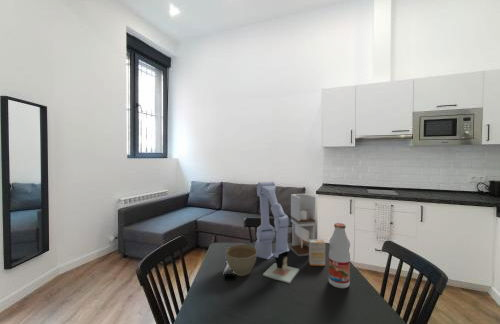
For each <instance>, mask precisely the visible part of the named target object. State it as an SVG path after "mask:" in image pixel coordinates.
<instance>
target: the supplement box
mask: <svg viewBox="0 0 500 324" xmlns="http://www.w3.org/2000/svg"><path fill="white" fill-rule="evenodd" d="M308 262H309V266H315V267H317V266H319V267H325V266H326V241H325V240H324V239H320V238H319V239H309V255H308Z"/></svg>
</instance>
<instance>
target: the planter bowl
mask: <svg viewBox="0 0 500 324" xmlns="http://www.w3.org/2000/svg"><path fill="white" fill-rule="evenodd" d="M256 256H257V250H256V248H255V246H251V245H248V244H236V245H232V246H229V247H228V248H226V250H225V257H226V263H227V264H228V267H229V268H230V270H231V269H232V270H233V271H234V272H235V273H236V274H237V275H236V276H239V277H243V276H247V275H249V274H250V273H251V271H252V269H253V268H254V266H255V264H256V262H257V261H256V260H257V257H256ZM232 270H231V271H232Z"/></svg>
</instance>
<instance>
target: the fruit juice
mask: <svg viewBox="0 0 500 324" xmlns="http://www.w3.org/2000/svg"><path fill="white" fill-rule="evenodd" d="M333 226H334V230H333V233H332V235H331V237H330V238H329V251H328V282H329V285H331V286H333V287H335V288H337V289H346V288H348V287H350V284H351V283H350V282H351V280H350V279H351V252H350V248H351V241H350V240H349V238H348V235H347V233H346V228H347V227H346V224H345V223H341V222H336V223H334V225H333Z"/></svg>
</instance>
